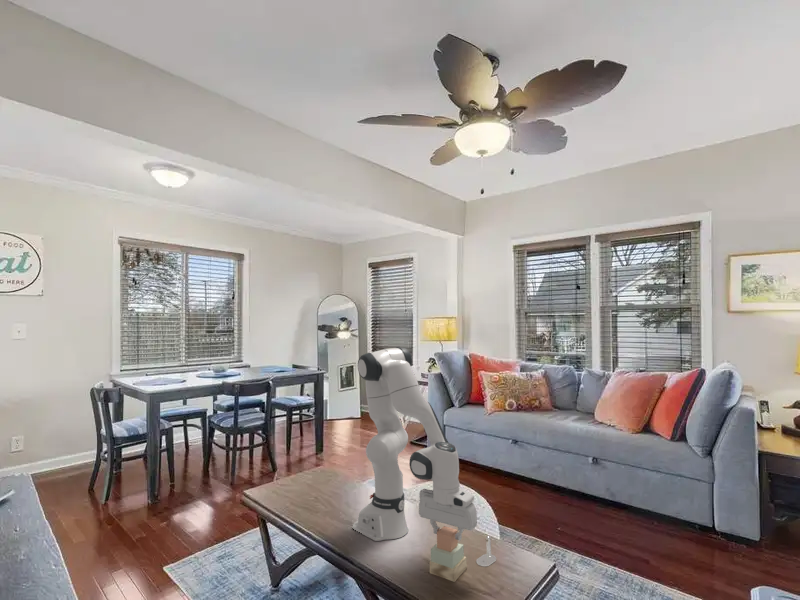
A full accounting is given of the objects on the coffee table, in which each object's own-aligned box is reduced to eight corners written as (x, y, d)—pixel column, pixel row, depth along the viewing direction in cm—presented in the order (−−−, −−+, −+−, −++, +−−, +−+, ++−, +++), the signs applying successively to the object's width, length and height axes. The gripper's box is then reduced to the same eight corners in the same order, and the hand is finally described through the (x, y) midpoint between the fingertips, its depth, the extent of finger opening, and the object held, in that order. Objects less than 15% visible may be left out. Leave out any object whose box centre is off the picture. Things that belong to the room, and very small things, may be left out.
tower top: (430, 561, 143) (430, 548, 143) (442, 550, 149) (442, 538, 149) (452, 568, 138) (452, 555, 138) (463, 557, 145) (463, 544, 145)
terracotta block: (437, 547, 143) (436, 532, 144) (444, 541, 148) (444, 526, 148) (450, 551, 141) (450, 536, 141) (457, 545, 145) (457, 529, 145)
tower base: (429, 574, 142) (429, 561, 142) (442, 561, 150) (442, 549, 150) (454, 583, 137) (454, 570, 137) (466, 569, 145) (466, 556, 145)
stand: (473, 562, 148) (486, 553, 153) (485, 568, 144) (499, 558, 150) (472, 539, 148) (486, 531, 154) (485, 544, 145) (498, 535, 150)
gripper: (414, 490, 148) (415, 532, 147) (470, 503, 136) (471, 549, 136) (424, 484, 153) (425, 524, 152) (478, 496, 142) (479, 540, 141)
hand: (447, 536), depth 144 cm, fingers open, 7 cm apart
